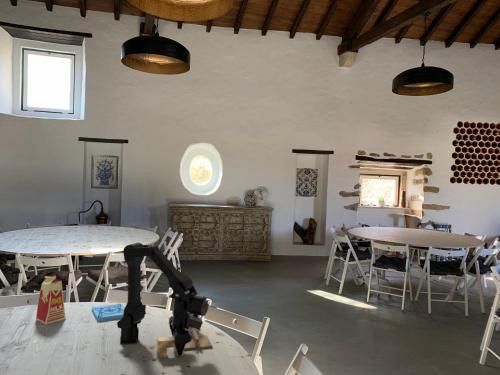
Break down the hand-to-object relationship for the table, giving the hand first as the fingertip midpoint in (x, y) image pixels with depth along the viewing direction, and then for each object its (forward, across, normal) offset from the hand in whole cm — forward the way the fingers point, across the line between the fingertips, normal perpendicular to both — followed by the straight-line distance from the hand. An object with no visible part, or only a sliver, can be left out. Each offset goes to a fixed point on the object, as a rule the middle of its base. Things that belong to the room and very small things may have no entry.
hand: (178, 350), depth 149 cm
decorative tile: (+2, +45, +26) cm, 52 cm away
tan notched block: (+2, 0, +3) cm, 3 cm away
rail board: (+2, +8, -8) cm, 11 cm away
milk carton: (+2, +42, +51) cm, 66 cm away
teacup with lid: (+2, +24, -7) cm, 25 cm away
